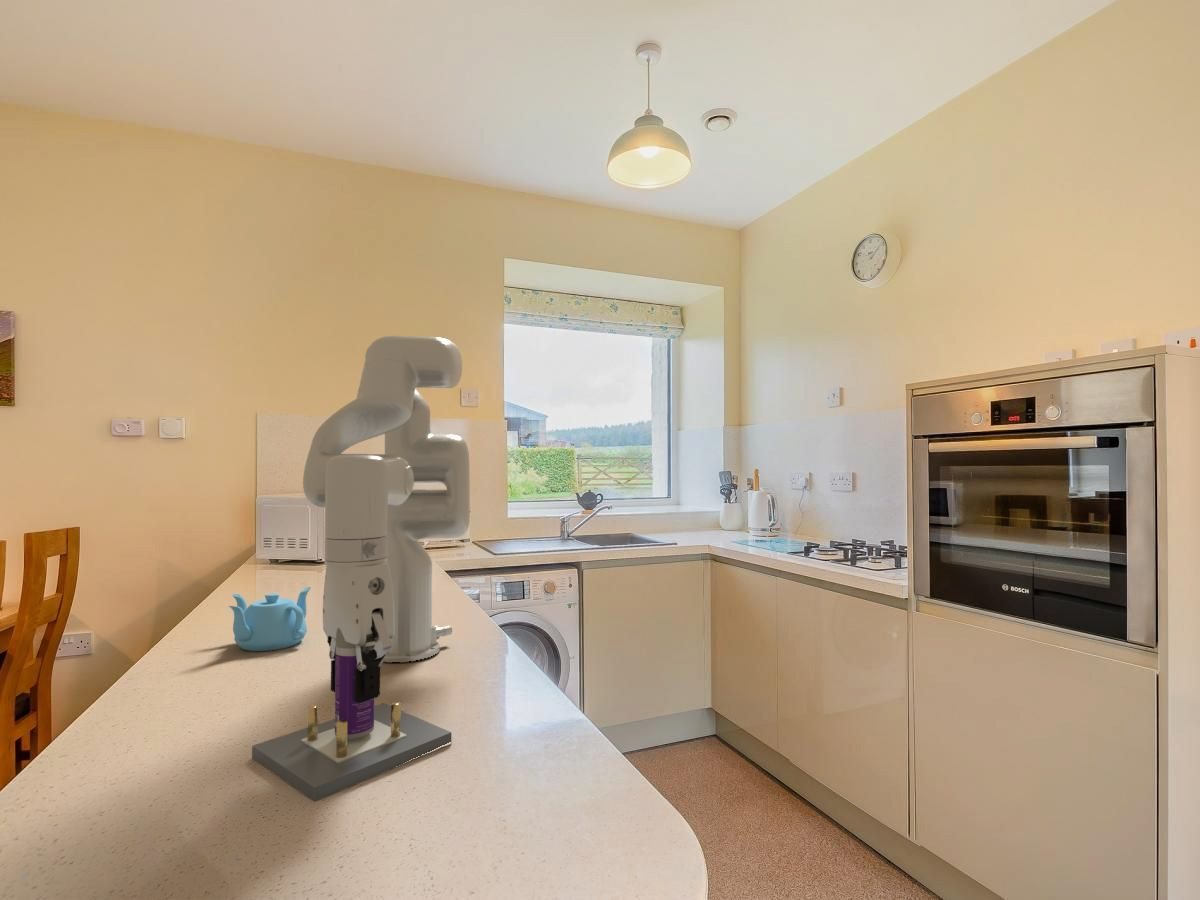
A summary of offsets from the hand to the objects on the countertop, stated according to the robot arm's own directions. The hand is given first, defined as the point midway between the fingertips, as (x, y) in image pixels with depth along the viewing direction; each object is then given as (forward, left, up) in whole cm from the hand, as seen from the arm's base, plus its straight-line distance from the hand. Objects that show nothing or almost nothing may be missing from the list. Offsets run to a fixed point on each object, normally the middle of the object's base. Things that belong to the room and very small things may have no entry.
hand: (355, 692), depth 79 cm
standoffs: (0, 0, -6) cm, 6 cm away
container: (0, 0, -5) cm, 5 cm away
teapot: (-14, -59, -8) cm, 61 cm away
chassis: (0, 0, -7) cm, 7 cm away
